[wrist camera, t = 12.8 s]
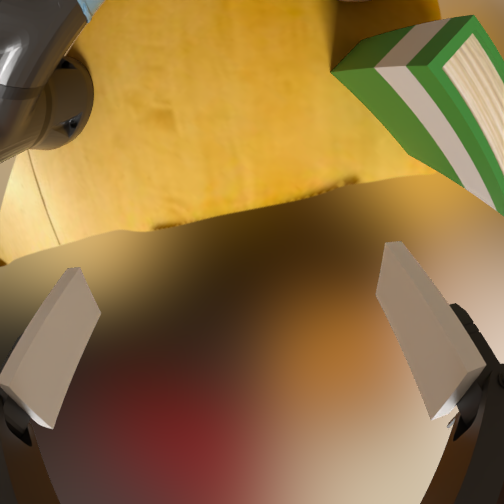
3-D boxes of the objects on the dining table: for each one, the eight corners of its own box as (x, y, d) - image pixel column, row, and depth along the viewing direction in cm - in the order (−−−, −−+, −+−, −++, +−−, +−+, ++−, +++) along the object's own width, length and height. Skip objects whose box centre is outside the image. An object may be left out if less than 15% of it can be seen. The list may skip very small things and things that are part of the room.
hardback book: (435, 124, 37) (549, 175, 16) (408, 154, 40) (514, 224, 19) (361, 40, 31) (473, 14, 10) (330, 72, 34) (427, 65, 13)
